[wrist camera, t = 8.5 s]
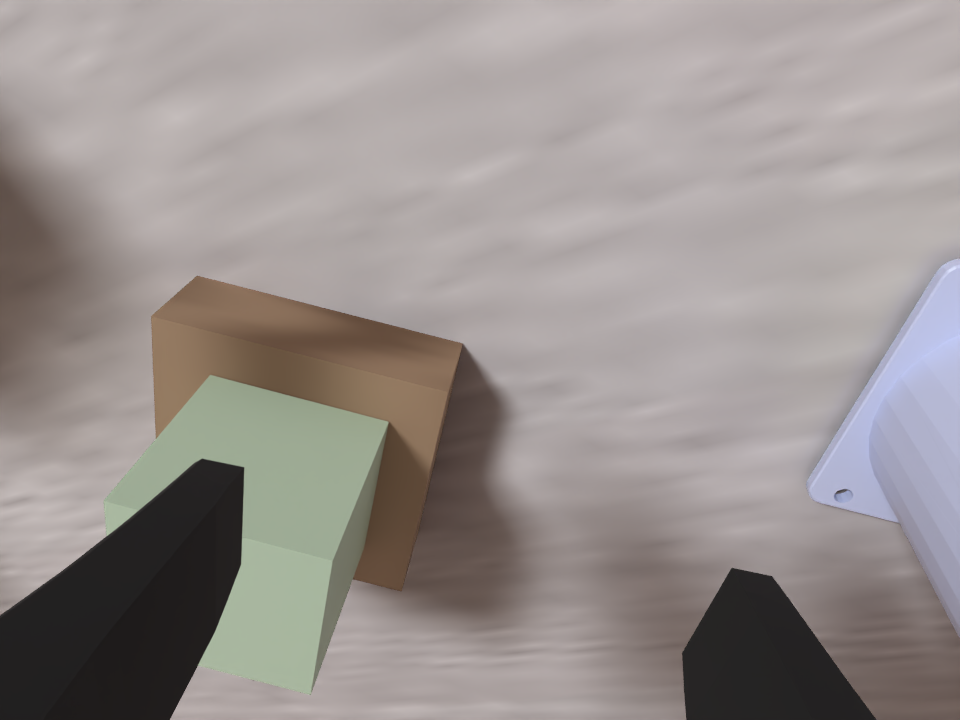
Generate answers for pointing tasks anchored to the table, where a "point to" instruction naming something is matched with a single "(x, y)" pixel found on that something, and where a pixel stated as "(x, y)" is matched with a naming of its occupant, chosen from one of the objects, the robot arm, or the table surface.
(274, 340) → the walnut block
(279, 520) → the sage cube
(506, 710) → the table surface
